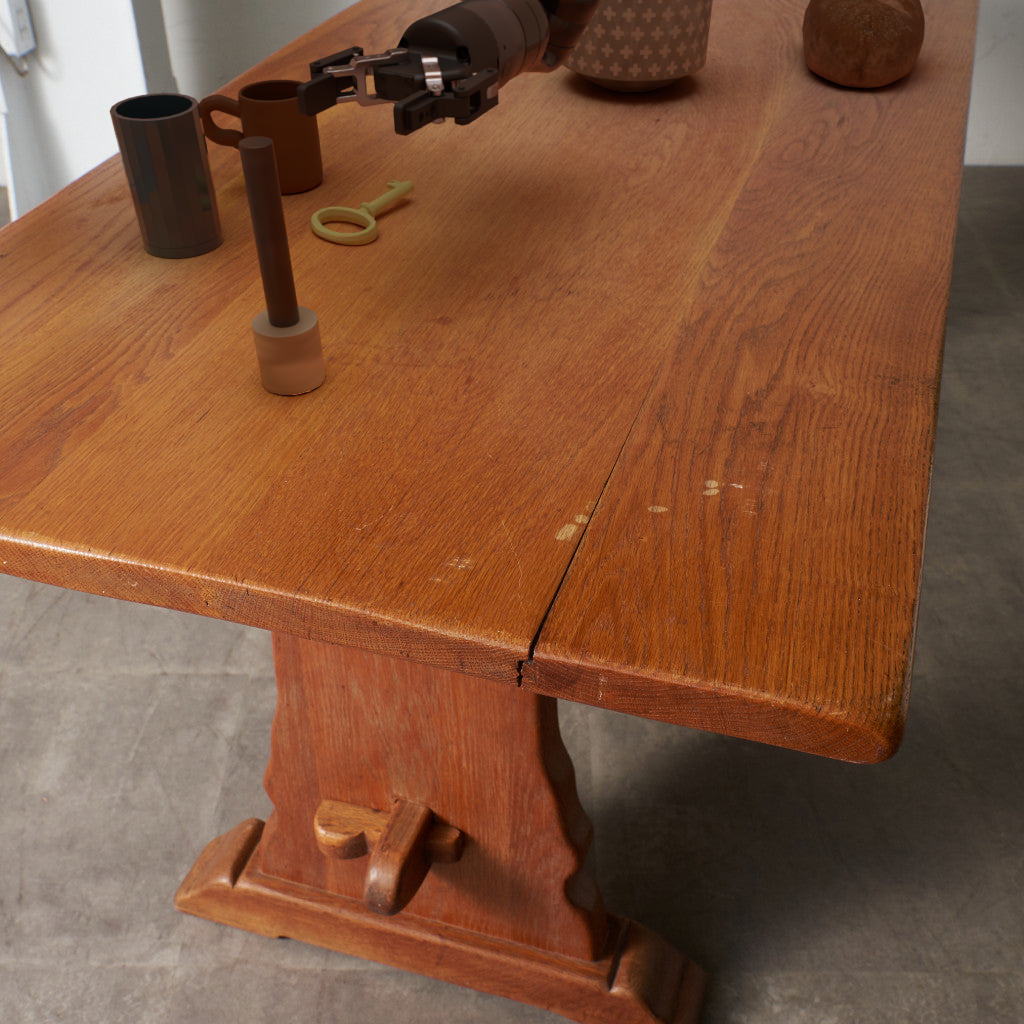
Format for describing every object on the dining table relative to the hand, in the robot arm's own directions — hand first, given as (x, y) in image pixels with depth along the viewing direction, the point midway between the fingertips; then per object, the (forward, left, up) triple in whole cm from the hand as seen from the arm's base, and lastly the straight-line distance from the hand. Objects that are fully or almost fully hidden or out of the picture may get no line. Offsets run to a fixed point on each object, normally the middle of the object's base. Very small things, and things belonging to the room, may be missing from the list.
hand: (349, 111), depth 73 cm
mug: (-18, +27, -17) cm, 37 cm away
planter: (+18, +67, -17) cm, 72 cm away
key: (-5, +19, -17) cm, 26 cm away
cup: (-21, +12, -17) cm, 30 cm away
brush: (-3, -10, -17) cm, 20 cm away
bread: (+48, +82, -17) cm, 97 cm away
